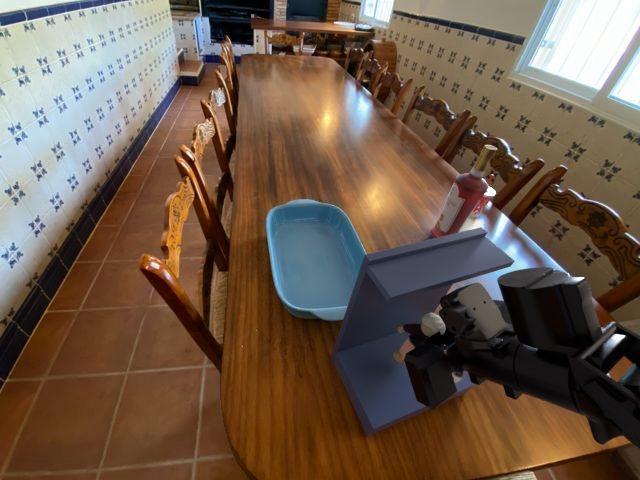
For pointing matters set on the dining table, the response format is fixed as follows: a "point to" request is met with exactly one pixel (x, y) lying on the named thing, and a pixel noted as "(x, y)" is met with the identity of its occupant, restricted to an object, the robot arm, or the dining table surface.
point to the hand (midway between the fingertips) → (417, 334)
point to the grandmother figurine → (419, 333)
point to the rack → (402, 319)
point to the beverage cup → (483, 200)
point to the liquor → (464, 196)
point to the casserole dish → (313, 258)
